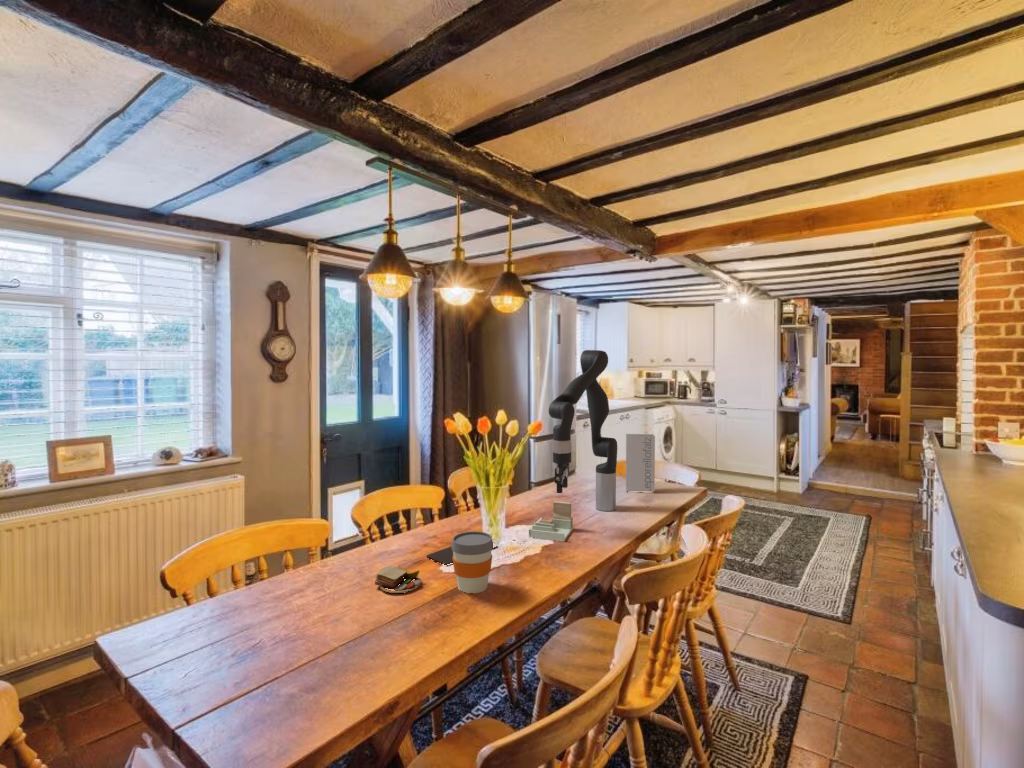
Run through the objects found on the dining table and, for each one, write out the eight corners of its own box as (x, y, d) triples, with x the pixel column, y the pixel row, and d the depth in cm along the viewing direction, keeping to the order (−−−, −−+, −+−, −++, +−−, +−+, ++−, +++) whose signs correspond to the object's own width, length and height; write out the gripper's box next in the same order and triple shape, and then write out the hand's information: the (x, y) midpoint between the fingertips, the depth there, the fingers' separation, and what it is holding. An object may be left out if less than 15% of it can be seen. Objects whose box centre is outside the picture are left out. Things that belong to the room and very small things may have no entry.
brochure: (626, 492, 259) (626, 435, 257) (625, 489, 264) (626, 433, 263) (654, 493, 256) (654, 436, 255) (653, 490, 262) (653, 434, 260)
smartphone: (423, 555, 174) (476, 536, 192) (423, 559, 174) (477, 540, 192) (445, 565, 165) (499, 544, 183) (445, 569, 165) (499, 548, 183)
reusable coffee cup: (444, 592, 147) (443, 542, 147) (463, 575, 159) (463, 529, 158) (482, 599, 143) (482, 548, 142) (499, 581, 154) (499, 534, 154)
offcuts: (541, 526, 202) (541, 519, 202) (554, 528, 201) (554, 520, 200) (537, 530, 198) (537, 522, 198) (550, 532, 196) (550, 524, 196)
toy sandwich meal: (403, 599, 143) (403, 583, 143) (368, 590, 150) (367, 574, 149) (429, 582, 154) (429, 567, 154) (395, 574, 161) (395, 559, 160)
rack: (540, 524, 208) (540, 514, 208) (573, 528, 203) (573, 517, 203) (528, 537, 193) (528, 526, 193) (563, 541, 188) (563, 530, 188)
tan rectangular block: (554, 525, 204) (554, 501, 204) (571, 527, 202) (571, 502, 201) (553, 526, 203) (553, 502, 202) (570, 528, 200) (570, 504, 200)
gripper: (557, 447, 209) (557, 485, 210) (548, 453, 195) (548, 494, 196) (574, 448, 206) (575, 486, 207) (566, 454, 193) (567, 495, 194)
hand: (562, 490), depth 202 cm, fingers open, 8 cm apart
